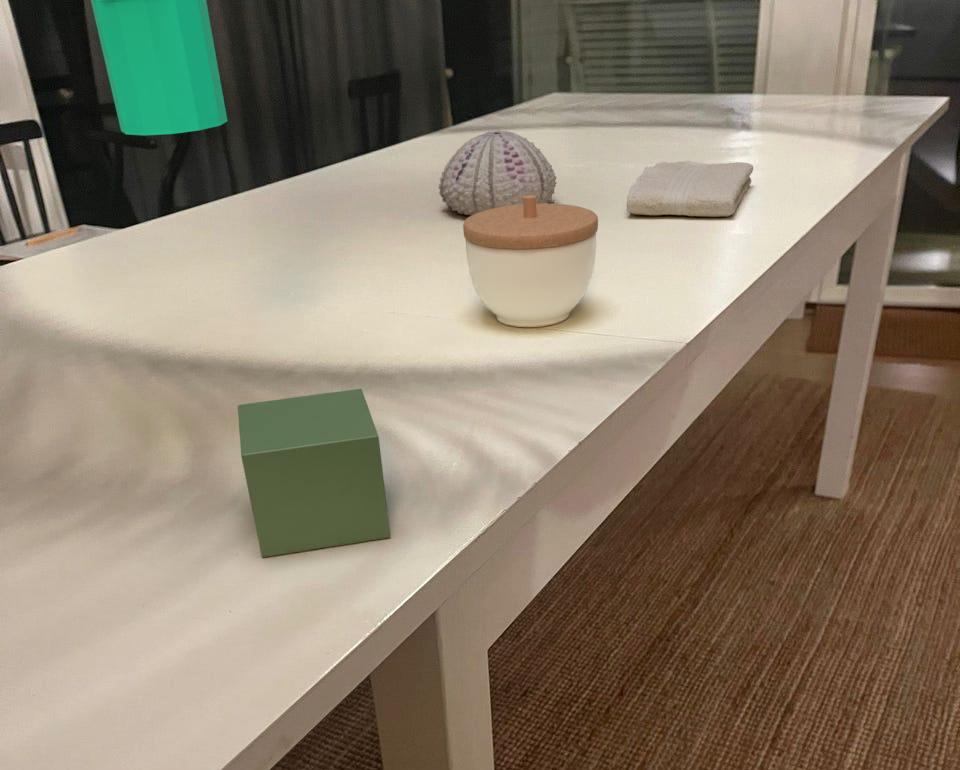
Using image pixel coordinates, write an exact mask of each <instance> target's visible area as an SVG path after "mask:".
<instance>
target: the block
mask: <svg viewBox="0 0 960 770" xmlns="http://www.w3.org/2000/svg"><path fill="white" fill-rule="evenodd" d="M237 417H238V431H239V432H238V433H239V442H240V444H239V445H240V456H241V462H242V465H243V466H242V467H243V471H244V476H245V481H246V487H247V491H248V492H247V493H248V497H249V501H250V506H251V510H252V515H253V521H254V526H255V530H256V531H255V532H256V535H257V540H258V545H259V551H260V555H261V558H269V557H275V556H280V555H281V556H282V555H288V554H293V553H301V552H306V551H313V550H318V549H319V550H320V549H325V548H333V547H339V546H346V545H351V544H357V543H358V544H359V543H363V542H371V541H377V540H384V539H390V538H391V530H390V522H389V521H390V520H389V513H388V503H387V495H386V488H385V478H384V469H383V462H382V453H381V446H380V445H381V444H380V437H379V436H380V435H379V434H378V431H377V428H376V425H375V423H374V420H373V417H372V414H371V411H370V408H369V406H368V403H367V400H366V397H365V394H364V392H363V389H362V388H355V389H348V390H346V389H345V390H339V391H333V392H325V393H318V394H309V395H303V396H302V395H301V396H296V397H288V398H287V397H286V398H279V399H272V400H266V401H258V402H257V401H256V402H249V403H243V404H238V405H237Z"/></svg>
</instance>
